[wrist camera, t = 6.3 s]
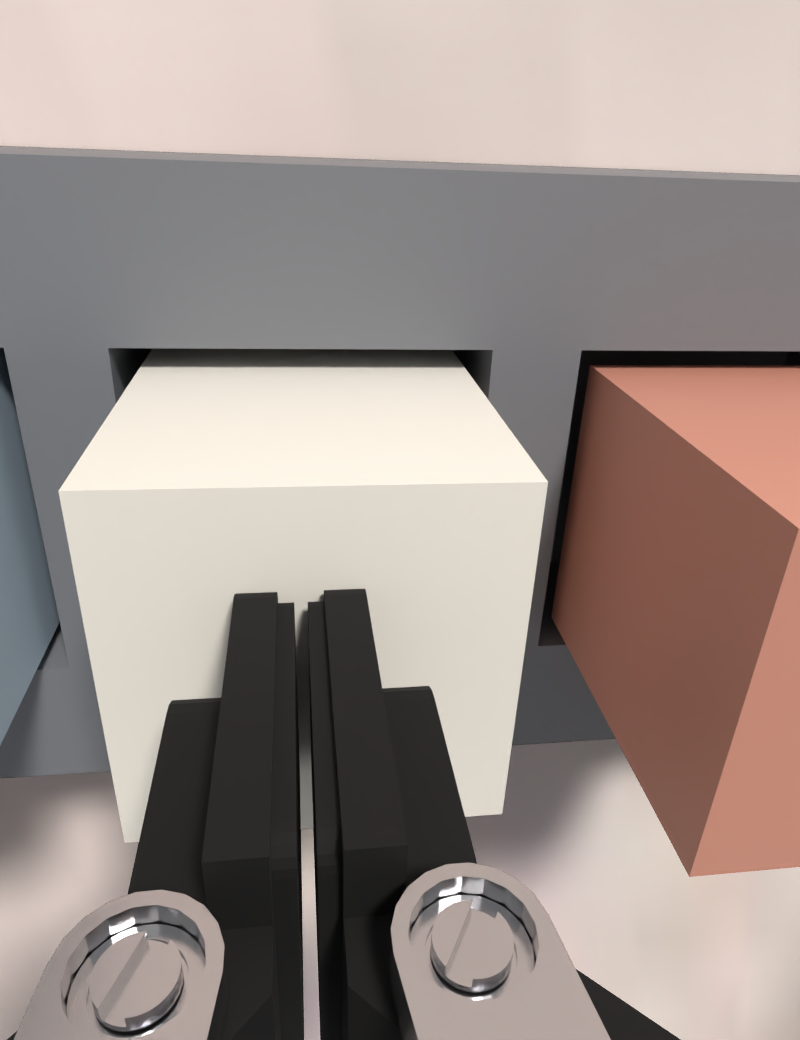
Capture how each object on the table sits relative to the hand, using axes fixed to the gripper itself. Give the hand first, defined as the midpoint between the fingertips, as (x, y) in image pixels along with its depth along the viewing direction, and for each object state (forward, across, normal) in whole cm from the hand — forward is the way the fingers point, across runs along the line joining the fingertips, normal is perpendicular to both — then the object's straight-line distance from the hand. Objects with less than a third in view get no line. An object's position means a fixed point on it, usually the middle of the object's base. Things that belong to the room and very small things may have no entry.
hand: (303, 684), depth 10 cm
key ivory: (+6, 0, 0) cm, 7 cm away
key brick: (+5, -8, 0) cm, 10 cm away
